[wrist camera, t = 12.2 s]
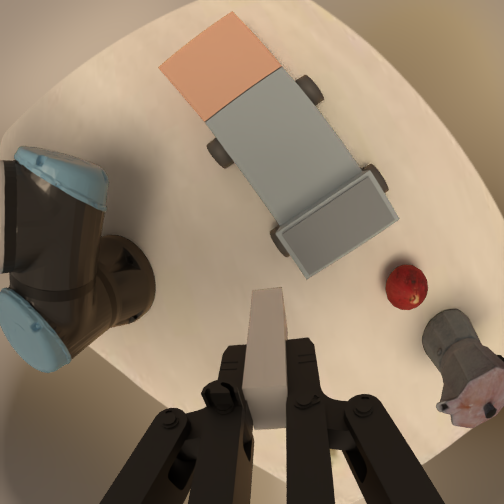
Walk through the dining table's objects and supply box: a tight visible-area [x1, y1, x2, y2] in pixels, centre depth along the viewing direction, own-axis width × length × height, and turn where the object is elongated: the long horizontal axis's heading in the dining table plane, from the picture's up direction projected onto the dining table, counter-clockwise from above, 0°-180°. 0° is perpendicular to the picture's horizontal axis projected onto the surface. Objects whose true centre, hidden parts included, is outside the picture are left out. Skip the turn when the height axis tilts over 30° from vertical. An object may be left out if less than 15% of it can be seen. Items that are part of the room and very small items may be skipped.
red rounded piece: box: [386, 265, 428, 310], centre depth 35 cm, size 6×6×8 cm
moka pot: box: [422, 309, 504, 428], centre depth 30 cm, size 10×15×20 cm, turn 101°
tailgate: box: [158, 11, 282, 122], centre depth 33 cm, size 2×12×10 cm
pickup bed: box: [205, 67, 399, 279], centre depth 34 cm, size 22×16×10 cm
